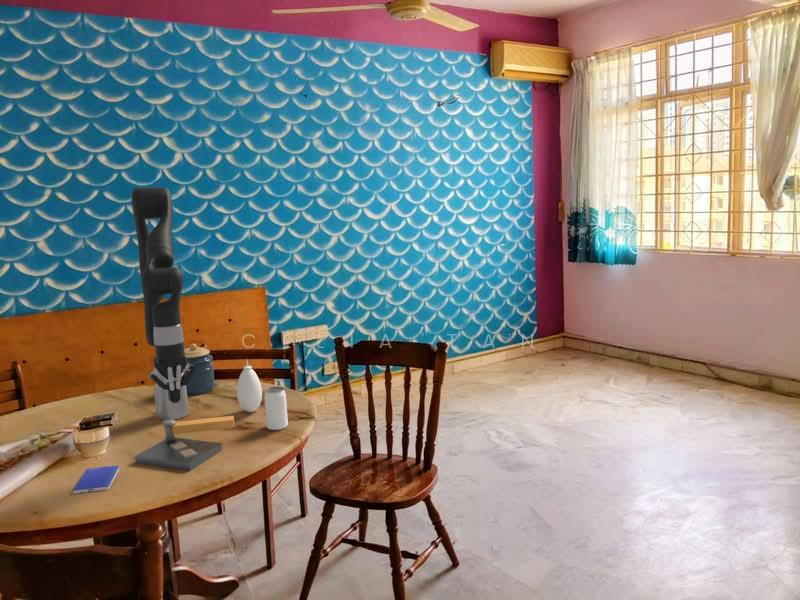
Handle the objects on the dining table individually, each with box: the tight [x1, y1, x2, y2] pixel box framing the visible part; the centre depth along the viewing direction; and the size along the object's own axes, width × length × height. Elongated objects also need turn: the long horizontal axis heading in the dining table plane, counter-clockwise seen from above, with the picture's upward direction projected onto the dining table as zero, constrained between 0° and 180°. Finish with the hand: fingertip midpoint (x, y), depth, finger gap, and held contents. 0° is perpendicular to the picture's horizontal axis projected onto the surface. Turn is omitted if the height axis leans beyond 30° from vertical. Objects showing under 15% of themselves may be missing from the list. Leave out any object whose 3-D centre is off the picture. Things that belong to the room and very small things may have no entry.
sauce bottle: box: [236, 359, 263, 413], centre depth 212 cm, size 8×8×18 cm
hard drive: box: [72, 465, 120, 494], centre depth 166 cm, size 2×8×12 cm
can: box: [264, 386, 289, 431], centre depth 198 cm, size 6×6×12 cm
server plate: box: [134, 437, 223, 472], centre depth 179 cm, size 18×14×2 cm
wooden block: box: [161, 415, 235, 441], centre depth 187 cm, size 20×4×5 cm, turn 102°
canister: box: [184, 343, 216, 396], centre depth 238 cm, size 13×13×18 cm
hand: (175, 402), depth 178 cm, fingers closed
